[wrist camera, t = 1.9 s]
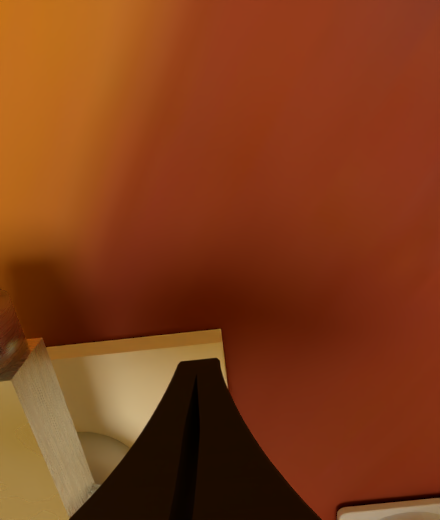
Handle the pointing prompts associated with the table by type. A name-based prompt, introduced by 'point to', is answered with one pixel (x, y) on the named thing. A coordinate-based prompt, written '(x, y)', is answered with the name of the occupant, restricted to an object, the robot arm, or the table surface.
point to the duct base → (123, 387)
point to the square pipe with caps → (36, 432)
